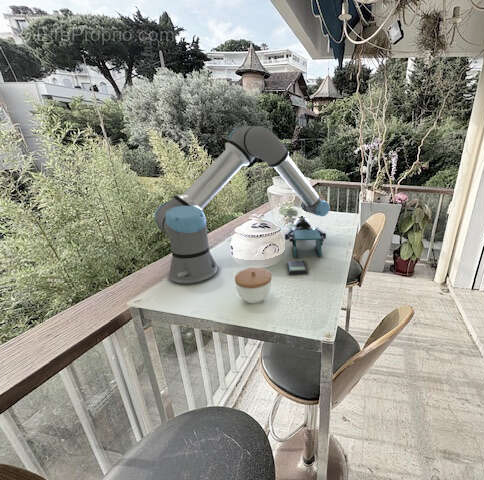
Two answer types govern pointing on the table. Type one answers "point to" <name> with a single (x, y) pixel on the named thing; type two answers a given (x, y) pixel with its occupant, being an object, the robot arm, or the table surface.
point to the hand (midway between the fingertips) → (307, 242)
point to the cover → (308, 238)
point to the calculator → (297, 267)
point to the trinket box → (253, 284)
